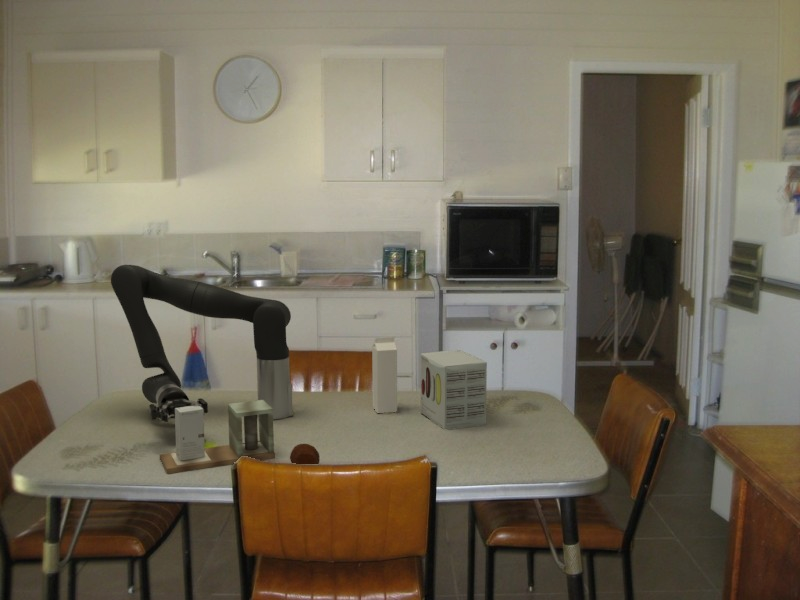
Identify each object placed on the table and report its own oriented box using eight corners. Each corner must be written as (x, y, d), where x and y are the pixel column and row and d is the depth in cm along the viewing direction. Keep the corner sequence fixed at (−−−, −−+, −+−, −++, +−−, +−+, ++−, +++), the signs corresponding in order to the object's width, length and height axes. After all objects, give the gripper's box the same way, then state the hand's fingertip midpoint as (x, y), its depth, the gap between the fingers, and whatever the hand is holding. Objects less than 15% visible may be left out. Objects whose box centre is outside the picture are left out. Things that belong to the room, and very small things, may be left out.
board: (263, 444, 213) (261, 398, 211) (275, 457, 203) (274, 409, 201) (159, 459, 202) (157, 411, 201) (167, 473, 193) (164, 423, 191)
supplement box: (419, 413, 241) (419, 353, 238) (460, 408, 246) (460, 349, 243) (443, 430, 225) (444, 365, 222) (487, 425, 230) (488, 361, 227)
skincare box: (181, 461, 197) (178, 412, 195) (175, 456, 200) (173, 407, 199) (206, 457, 200) (204, 408, 198) (200, 451, 204) (198, 404, 202)
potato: (289, 477, 190) (288, 450, 189) (290, 463, 199) (290, 437, 198) (319, 476, 191) (319, 449, 190) (319, 462, 200) (319, 437, 199)
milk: (397, 412, 242) (397, 338, 238) (377, 414, 240) (377, 340, 237) (391, 406, 247) (391, 334, 244) (372, 408, 246) (372, 335, 242)
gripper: (143, 389, 217) (153, 405, 203) (198, 383, 224) (211, 398, 209) (145, 417, 219) (155, 434, 204) (199, 410, 225) (212, 426, 210)
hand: (183, 416), depth 207 cm, fingers open, 8 cm apart
